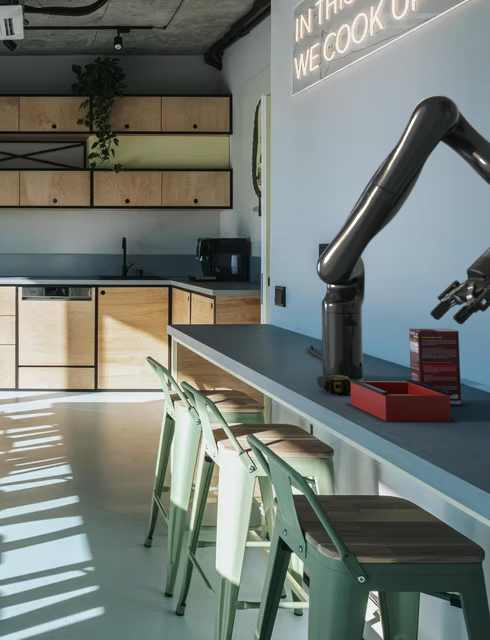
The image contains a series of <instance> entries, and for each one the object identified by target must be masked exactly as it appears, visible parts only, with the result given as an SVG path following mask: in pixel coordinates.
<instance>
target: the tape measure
mask: <svg viewBox="0 0 490 640" xmlns="http://www.w3.org/2000/svg"><path fill="white" fill-rule="evenodd" d="M348 378H349V377H346V376H341V375H327V376H322V375H321V376H318V377H317V379H316V384H317V386H318V387H319V388H320V389H321V390H323V391H324V392H326V393H328V394H330V393H333V394H343V395H344V394H347V393H351V382H350V381H348Z"/></svg>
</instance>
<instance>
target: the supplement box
mask: <svg viewBox="0 0 490 640" xmlns="http://www.w3.org/2000/svg"><path fill="white" fill-rule="evenodd" d="M408 330H409V331H408V333H409V335H408V337H409V369H410V372H409V373H410V374H409V375H410V379H414V380H417V381H420V382H423V383H426V384H429V385H432V386H435V387H437V388H440V389H443V390H446V391H449V392H452V393H453V395H452V396H450V405H462V388H461V363H460V362H461V360H460V336H459V335H460V334H459V333H460V332H459V330H457V329H452V328H413V327H411V328H408Z"/></svg>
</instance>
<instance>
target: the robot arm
mask: <svg viewBox="0 0 490 640" xmlns="http://www.w3.org/2000/svg"><path fill="white" fill-rule="evenodd" d="M440 142H442V143H443V144H444V145H446V146H447V147H449V148H450V149H451V150H452V151H454V152H455V153H456V154H457V155H458V156H460V157H461V158H462V159H463V160H464V161H465V163H467V164H468V165H469V167H471V169H472V170H473V171H474V172H475V173H476V174H477V175H478V176H479V177H480V178H481V179H482V180H483V181H484V182H485V183H486V184H487V185H488V186H490V141H489V140H488V139H487V138H485V137H484V136H483V135H482V134H481V133H480V132H478V131H477V129H475V127H474V126H472V124H471V123H470V122H469V121H468V120H467V118H466V117H465V116H464V115H463V113H462V112H461V111H460V109H459V107H458V105H457V103H456V102H455V101H454V100H453V99H451V98H450V97H448V96H446V95H441V94H433V95H428V96H426V97H424V98H423V99H421V100H420V101H419V102H418V103H417V104H416V105H415V107H414V108H413V110H412V113H411V116H410V118H409V120H408V122H407V124H406V126H405V128H404V130H403V132H402V134H401V136H400V138H399V140H398V142H397V143H396V145H394V147H393V149H392V150H391V151H390V152H389V154H388V155H387V156H386V158H385V159H384V160H383V161H382V163H380V165H379V166H378V168H377V169H376V171H375V172H374V174H373V175H372V176H371V178H370V180H369V181H368V183H367V184H366V186H365V187H364V189H363V191H362V193H360V196H359V198H358V200H357V202H356V203H355V204H354V206H353V207H352V209H351V211H350V213H349V214H348V216H347V218H346V220H345V222H344V223H343V225H342V227H340V230H339V231H338V232H337V233H336V235H335V236H334V238H333V239H332V240H331V241H330V242H329V243H328V245H327V246H326V247H325V249H324V250H323V251H322V253H321V254H320V255H319V257H318V259H317V262H316V273H317V277H318V278H319V280H321V281H322V282H323V283H324V284H326V291H325V295H324V298H323V299H322V300H321V354H320V353H318V352H316V351H315V350H314V346H313V344H311V345H309V348H308V351H309V352H310V353H311V354H312V355H314V356H315V357H317V358H319V359H321V361H322V362H321V363H322V364H321V365H322V368H321V369H322V375H321V376H327V375H341V376H346V377H349V378H353V379H356V380H358V381H364V374H363V373H364V370H363V369H364V368H363V367H364V365H365V362H363V361H364V358H363V313H362V312H363V304H364V301H365V294H366V293H365V291H366V290H365V286H366V269H365V268H366V267H365V263H364V260H363V257H362V255H363V253H364V251H365V250H366V248H367V247H368V245H369V244H370V242H371V241H372V240H373V239H374V238H375V237H376V236H377V235H378V234H379V233H380V232H382V230H383V229H385V228H386V227H387V226H388V225H389V224H390V223H391V222H392V221H393V219H394V218H395V217H397V215H398V213H400V211H401V209H402V208H403V206H404V205H405V203H406V202H407V200H408V199H409V197H410V196H411V194H412V192H413V190H414V188H415V186H416V184H417V182H418V180H419V178H420V176H421V173H422V171H423V168H424V166H425V165H426V163H427V161H428V159H429V157H430V156H431V155H432V153H433V152H434V150H435V149H436V148H437V147H438V145H439V144H440ZM466 275H467V279H465V281H463V282H460V281H459V280H457V279H455V280H454V281H452V283H450V285H449V286H448V287H446V288H445V289H444V290H443V291H442V292H441V293H439V295H438V296H437V300H439V303H438V304H437V305H436V306H435V307H434V308H433V309H432V310H431V311H430V312H429V314H430V316H431V317H432V318H433V319H434V320H436V321H439V320H441V319H442V318H443V317H444V316H445V315H446V314H447V313H448V312H449V310H451V309H452V308H453V307H455V306H462V305H463V304H464V305H463V306H462V307H461V308H459V310H458V311H457V312H456V313H455V314H454V315H453V316H452V319H453V320H454V321H455V322H456V323H457V324H458V325H463V324H464V323H465V322H466V321H467V320H468V319H470V317H471V316H472V315H473V314H477V313H478V312H479V311H480V312H486V311H487V310H488V309H489V307H490V246H489V247H488V248H487V249H486V250H485V251H483V253H482V254H481V255H480V256H479V257H477V258H476V260H475V261H474V262H473V263H472V264H471V265H470V266H469V267H468V268H467V269H466ZM484 302H485V303H484ZM310 434H311V435H313V436H314V425H313V424H312V423H309V435H310Z"/></svg>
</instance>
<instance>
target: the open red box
mask: <svg viewBox="0 0 490 640" xmlns="http://www.w3.org/2000/svg"><path fill="white" fill-rule="evenodd" d="M348 381H350V382H351V391H350V405H351V406H353V407H355V408H357V409H359V410H361V411H364V412H366V413H368V414H370V415H372V416H373V417H374V416H375V418H376V417H377V418H379V419H380V420H383V421H385V422H451V404H450V396H452V395H453V393H452V392H449V391H446V390H443V389H440V388H437V387H435V386H432V385H429V384H426V383H423V382H420V381H417V380H414V379H411V378H406V381H403V380H402V381H400V380H399V381H397V380H396V381H395V380H393V381H391V380H388V381H387V380H382V381H381V380H363V381H358V380H356V379H353V378H348Z"/></svg>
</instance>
